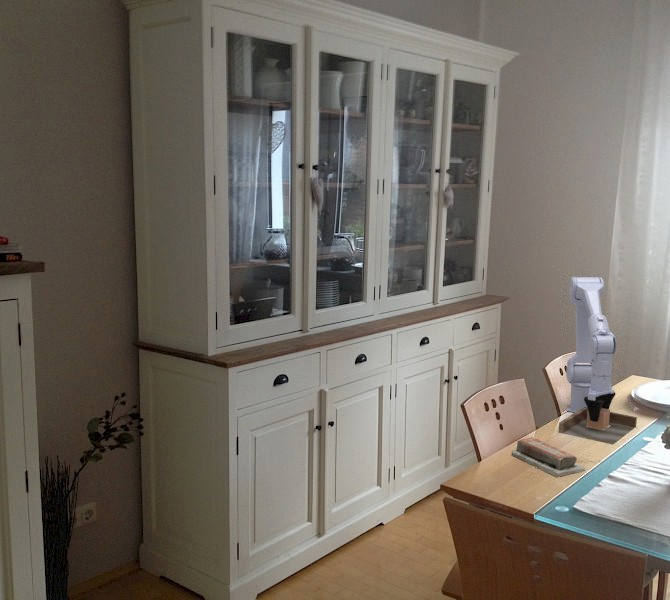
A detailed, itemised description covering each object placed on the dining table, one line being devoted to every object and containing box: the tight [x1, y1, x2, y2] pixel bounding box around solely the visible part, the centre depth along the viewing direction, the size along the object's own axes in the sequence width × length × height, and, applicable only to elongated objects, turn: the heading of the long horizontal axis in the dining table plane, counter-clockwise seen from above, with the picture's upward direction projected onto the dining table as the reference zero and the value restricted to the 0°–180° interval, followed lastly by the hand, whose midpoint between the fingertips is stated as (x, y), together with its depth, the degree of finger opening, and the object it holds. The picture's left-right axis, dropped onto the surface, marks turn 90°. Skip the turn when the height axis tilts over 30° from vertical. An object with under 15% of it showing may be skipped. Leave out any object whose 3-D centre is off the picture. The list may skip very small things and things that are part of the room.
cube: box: [587, 408, 611, 430], centre depth 222 cm, size 5×5×5 cm
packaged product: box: [511, 437, 586, 478], centre depth 195 cm, size 18×5×10 cm
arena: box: [558, 407, 638, 445], centre depth 219 cm, size 20×16×4 cm
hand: (598, 418), depth 221 cm, fingers open, 7 cm apart
